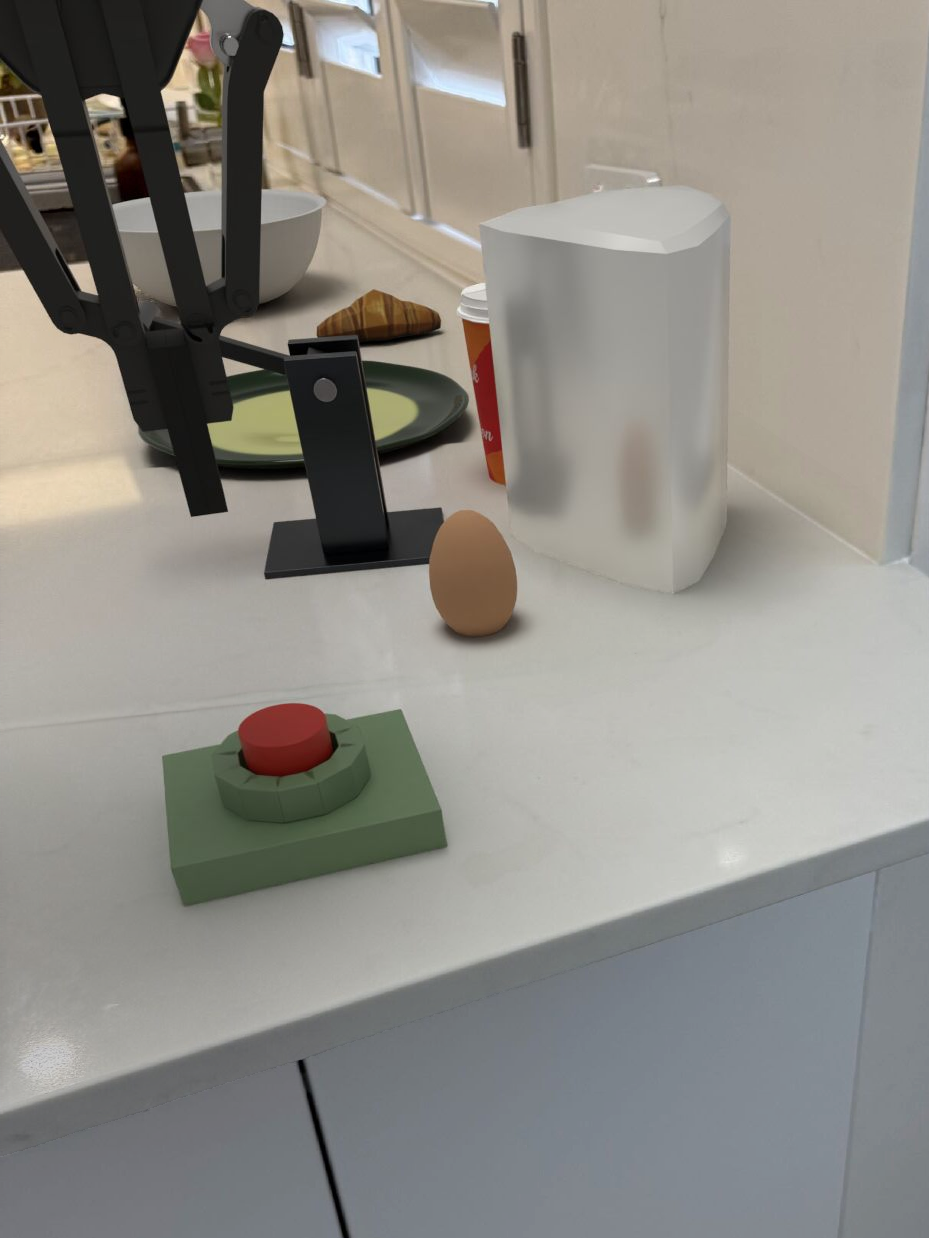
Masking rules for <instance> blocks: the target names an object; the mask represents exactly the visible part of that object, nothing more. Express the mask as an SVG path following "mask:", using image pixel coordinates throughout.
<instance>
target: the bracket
mask: <svg viewBox="0 0 929 1238" xmlns="http://www.w3.org/2000/svg"><path fill="white" fill-rule="evenodd" d="M309 347H310V348H314V349H317V350H320V351H324V352H327V353H324V354H310V355H307V352H308V348H309ZM287 349H288V353H289V354H288V355H289V356H285V357H284V366H285V371H286V376H287V381H288V385H289V390H290V395H291V400H292V405H293V410H294V414H295V419H296V424H297V429H298V434H299V439H300V443H301V448H302V453H303V458H304V463H305V467H304V468H305V471H306V476H307V481H308V486H309V491H310V496H311V500H312V501H311V502H312V506H313V509H314V516H315V518H305V519H295V520H283V521H274V522H273V523H272V530H271V534H270V540H269V544H268V545H269V546H268V551H267V556H266V561H265V565H264V570H263V575H264V580H275V579H284V578H294V577H295V578H296V577H307V576H316V575H327V574H337V573H350V572H359V571H369V570H381V569H391V568H392V569H393V568H403V567H413V566H423V565H429V560H430V555H431V551H432V547H433V543H434V540H435V537H436V535H437V533H438V531H439V528H440V527H441V525H442V524H443V523H444V521H445V520H444V513H443V508H442V507H428V508H417V509H408V510H407V509H406V510H395V511H388V506H387V500H386V495H385V489H384V488H385V487H384V483H383V482H384V481H383V477H382V472H381V466H380V460H379V454H378V453H377V447H376V441H375V435H374V429H373V423H372V417H371V411H370V405H369V399H368V394H367V388H366V382H365V376H364V370H363V364H362V360H363V358H362V353H361V345H360V342H359V340H358V335H349V336H334V337H320V338H318V337H309V338H294V339H292V338H291V339H288V340H287Z"/></svg>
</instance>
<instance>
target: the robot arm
mask: <svg viewBox="0 0 929 1238" xmlns="http://www.w3.org/2000/svg"><path fill="white" fill-rule="evenodd" d="M200 10H201V11H202V12H203V14H204V15H205V16H206V19H207V21H208V25H209V47H210V49H211V51H212V53H213V55H214V56H215V58H217V60H219V62H221V63H222V64H223V65H225V66H224V71H223V78H222V91H221V99H222V100H221V190H222V202H221V279H219V280H217V281H215V282H213V283H211V284H209V285H207V286H206V284H205V280H204V276H203V271H202V267H201V263H200V258H199V254H198V250H197V246H196V241H195V237H194V233H193V228H192V224H191V220H190V215H189V211H188V207H187V202H186V198H185V194H184V193H185V190H184V185H183V182H182V177H181V173H180V169H179V164H178V160H177V156H176V152H175V151H176V150H175V146H174V143H173V139H172V133H171V130H170V129H171V128H170V124H169V121H168V116H167V111H166V106H165V103H164V98H163V94H162V91H163V90H164V89H165V88H166V87H168V85H169V84H170V82H171V81H172V79H173V77H174V75H175V73H176V70H177V67H178V65H179V63H180V60H181V57H182V55H183V53H184V50H185V47H186V44H187V42H188V40H189V37H190V35H191V32H192V29H193V27H194V25H195V22H196V19H197V17H198V15H199V12H200ZM284 36H285V33H284V28H283V25H282V23H281V20H280V19H279V18H278V17H277V16H276V15H275V14H274V13H273V12H271V11H269V10H267V9H265V8H263V7H260V6H254V5H252V4H251V3H249V2H248V1H246V0H0V61H1V63H3V64H4V65H5V67H6V68H7V69H8V70H9V71H10V72H11V73H12V74H13V75H14V76H15V77H16V78H17V80H19V81H20V82H21V83H22V84H23V86H25V87H26V88H28V89H29V90H30V91H32V92H33V93H35V95H36V94H37V95H38V96H41V99H42V103H43V108H44V110H45V114H46V118H47V122H48V125H49V129H50V131H51V134H52V137H53V140H54V143H55V147H56V150H57V153H58V158H59V161H60V163H61V168H62V172H63V175H64V178H65V183H66V186H67V189H68V193H69V198H70V201H71V204H72V207H73V211H74V214H75V215H74V216H75V218H76V221H77V222H76V223H77V225H78V226H77V227H78V229H79V233H80V236H81V240H82V244H83V246H84V250H85V254H86V258H87V261H88V264H89V269H90V272H91V276H92V279H93V282H94V286H95V290H96V294H94V293H90V292H86V291H82V288H81V287H80V285H79V283H78V281H77V279H76V277H75V275H74V274H73V272H72V270H71V269H70V266H69V264H68V262H67V261H66V259H65V257H64V255H63V253H62V251H61V250H60V248H59V246H58V244H57V242H56V240H55V238H54V237H53V234H52V233H51V231H50V229H49V227H48V225H47V224H46V222H45V220H44V218H43V216H42V214H41V212H40V211H39V208H38V206H37V205H36V203H35V201H34V199H33V197H32V195H31V194H30V192H29V190H28V188H27V186H26V184H25V182H24V181H23V178H22V176H21V175H20V173H19V171H18V170H17V167H16V166H15V164H14V162H13V161H12V158H11V156H10V155H9V152H8V151H7V148H6V147H5V144H4V143H3V141H2V140H1V139H0V233H2V235H3V237H4V239H5V241H6V243H7V244H8V246H9V248H10V249H11V251H12V253H13V256H14V257H15V259H16V260H17V262H18V264H19V266H20V267H21V269H22V271H23V273H24V275H25V276H26V279H27V280H28V281H29V283H30V285H31V287H32V289H33V291H34V292H35V294H36V296H37V298H38V300H39V301H40V303H41V305H42V307H43V308H44V310H45V312H46V314H47V315H48V317H49V319H50V321H51V323H52V324H53V325H54V326H55V328H56V329H57V330H59V331H60V332H62V333H63V334H66V335H77V334H80V335H83V336H88V337H92V338H96V339H98V340H101V341H103V342H104V343H105V344H107V345H108V346H109V347H110V348H111V350H112V351H113V353H114V355H115V358H116V361H117V362H116V363H117V365H118V369H119V372H120V376H121V379H122V383H123V386H124V391H125V394H126V397H127V401H128V405H129V408H130V411H131V414H132V417H133V418H132V419H133V421H134V422H135V424H136V425H137V427H138V426H139V427H140V429H141V430H142V432H145V431H153V430H162V429H168V433H169V437H170V440H171V444H172V448H173V452H174V455H175V456H174V455H173V456H174V458H175V463H176V466H177V470H178V474H179V478H180V481H181V486H182V489H183V493H184V496H185V500H186V504H187V508H188V513H189V515H190V518H194V517H195V518H196V517H201V516H209V515H216V514H223V513H229V509H228V504H227V501H226V500H227V499H226V496H225V491H224V487H223V482H222V478H221V475H220V471H219V466H217V462H216V458H215V454H214V450H213V446H212V442H211V438H210V433H209V429H208V425H207V424H209V423H217V422H225V421H231V420H232V414H233V408H234V407H233V402H232V398H231V394H230V389H229V385H228V381H227V373H226V368H225V363H224V360H223V359H224V358H223V357H222V354H221V350H220V346H219V337H220V335H221V333H222V331H223V330H224V328H225V327H227V326H228V325H229V324H231V323H233V322H235V321H237V320H239V319H241V318H248V317H251V316H252V315H254V314H256V312H257V311H258V309H259V305H260V304H259V286H260V242H261V198H262V189H263V147H264V103H265V102H264V101H265V90H266V87H267V85H268V83H269V80H270V77H271V75H272V72H273V69H274V66H275V64H276V62H277V58H278V55H279V53H280V51H281V48H282V45H283V42H284ZM100 95H108V96H111V97H115V98H120V99H124V102H125V106H126V110H127V114H128V117H129V122H130V125H131V128H132V129H131V130H132V133H133V136H134V141H135V145H136V149H137V153H138V156H139V160H140V165H141V169H142V173H143V177H144V182H145V185H146V189H147V193H148V197H150V201H151V205H152V209H153V213H154V217H155V222H156V226H157V230H158V234H159V238H160V242H161V246H162V250H163V254H164V258H165V262H166V266H167V270H168V274H169V278H170V282H171V286H172V290H173V294H174V298H175V302H176V306H177V307H176V309H177V314H178V318H179V321H180V322H179V323H180V324H181V326H182V328H178V329H168V330H158V331H148V332H145V330H144V327H143V323H142V319H141V312H140V310H139V306H138V303H139V301H138V299H137V294H136V292H135V291H136V290H135V287H134V284H133V283H132V279H131V275H130V271H129V267H128V264H127V260H126V256H125V252H124V248H123V245H122V241H121V237H120V233H119V229H118V225H117V222H116V218H115V214H114V210H113V206H112V205H113V203H112V200H111V199H112V198H111V194H110V192H109V188H108V183H107V180H106V176H105V172H104V168H103V165H102V160H101V156H100V153H99V150H98V145H97V141H96V137H95V134H94V130H93V125H92V121H91V117H90V113H89V109H88V104H87V102H86V100H88V99H89V100H90V99H92V98H94V97H97V96H100Z"/></svg>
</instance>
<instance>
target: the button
mask: <svg viewBox="0 0 929 1238" xmlns="http://www.w3.org/2000/svg"><path fill="white" fill-rule="evenodd" d="M325 714H326V713H325V712H324V711H322V710H321V709H320V708H319V707H317V706H314V705H311V704H309V703H301V702H288V703H287V702H286V703H280V704H273V705H270V706H266V707H263V708H261V709H258V710H256V711H254V712H252V713H251V714H249V715H248V716H247V717H245V718H243V720H242V722H241V723H240V724H239V725H238V728H237V731H238V736H239V740H240V743H241V747H242V750H243V754H244V757H245V761H246V764H247V767H248V769H249V770H250V771H251V772H252V773H254V774H255V775H264V776H276V777H283V776H288V775H293V774H298V773H302V772H307V771H309V770H311V769H312V768H314V767H316V766H318V765H320V764H322V763H324V762H326V761H328V760H329V759H330V758H331V756H332V753H333V747H332V742H331V738H330V733H329V729H328V724H327V720H326V716H325Z"/></svg>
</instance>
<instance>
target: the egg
mask: <svg viewBox="0 0 929 1238" xmlns="http://www.w3.org/2000/svg"><path fill="white" fill-rule="evenodd" d="M443 521H444V523H443V524H442V525H441V527H440V528H439V531H438V533H437V535H436V537H435V540H434V543H433V547H432V551H431V555H430V560H429V564H428V577H429V589H430V593H431V597H432V600H433V604H434V606H435V608H436V610H437V612H438V614H439V616H440V617H441V618H442V620H443V621H444V622H445V623H446V625H448V626H449V627H450V628H451V629H452V630H453V631H454V632H455V633H457V634H458V635H461V636H466V637H472V638H473V637H486V636H489V635H492V634H493V635H494V634H496V633H498V632H499V631H501V630H502V629H504V627H505V626H506V625H507V623H508V622H509V621H510V619H511V617H512V615H513V612H514V609H515V607H516V604H517V597H518V577H517V570H516V566H515V562H514V558H513V555H512V551H511V549H510V548H509V546H508V544H507V542H506V540H505V538H504V536H503V534H502V533H501V532H500V530H499V529H498V527H497V526H496V525H495V524H494V522H492V520H491V519H489V518H488V517H487V516H485V515H483V514H481V513H480V512H478V511H475V510H472V509H464V510H463V509H461V510H458V511H456V512H454V513H452V514H451V515H450V516H448V517H447V518H446V519H445V520H443Z"/></svg>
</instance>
